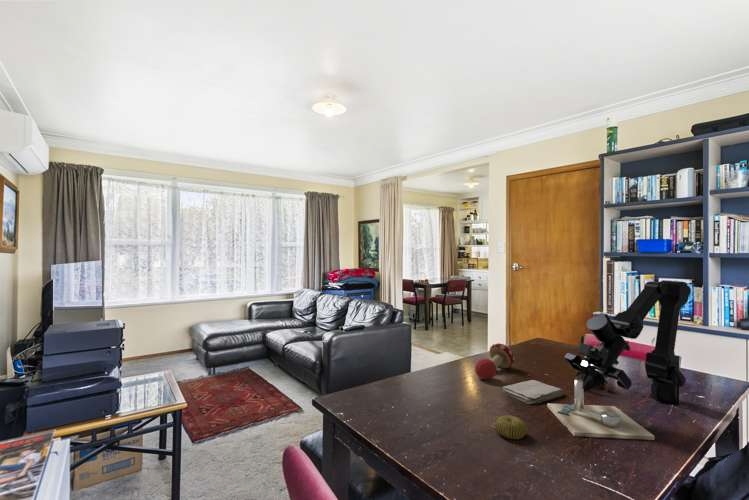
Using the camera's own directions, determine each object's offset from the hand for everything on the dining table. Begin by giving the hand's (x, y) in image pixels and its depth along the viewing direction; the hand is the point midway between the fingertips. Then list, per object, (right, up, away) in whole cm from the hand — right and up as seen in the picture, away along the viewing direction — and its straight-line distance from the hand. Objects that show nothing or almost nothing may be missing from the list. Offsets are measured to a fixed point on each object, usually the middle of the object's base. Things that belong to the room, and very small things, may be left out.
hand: (579, 391), depth 106 cm
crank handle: (+1, -6, -4) cm, 7 cm away
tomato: (-19, -7, +31) cm, 37 cm away
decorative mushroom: (-10, -8, +42) cm, 44 cm away
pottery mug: (+17, -8, +23) cm, 30 cm away
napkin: (+3, -7, -3) cm, 8 cm away
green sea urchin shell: (-24, -8, -10) cm, 28 cm away
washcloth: (-7, -8, +17) cm, 20 cm away
